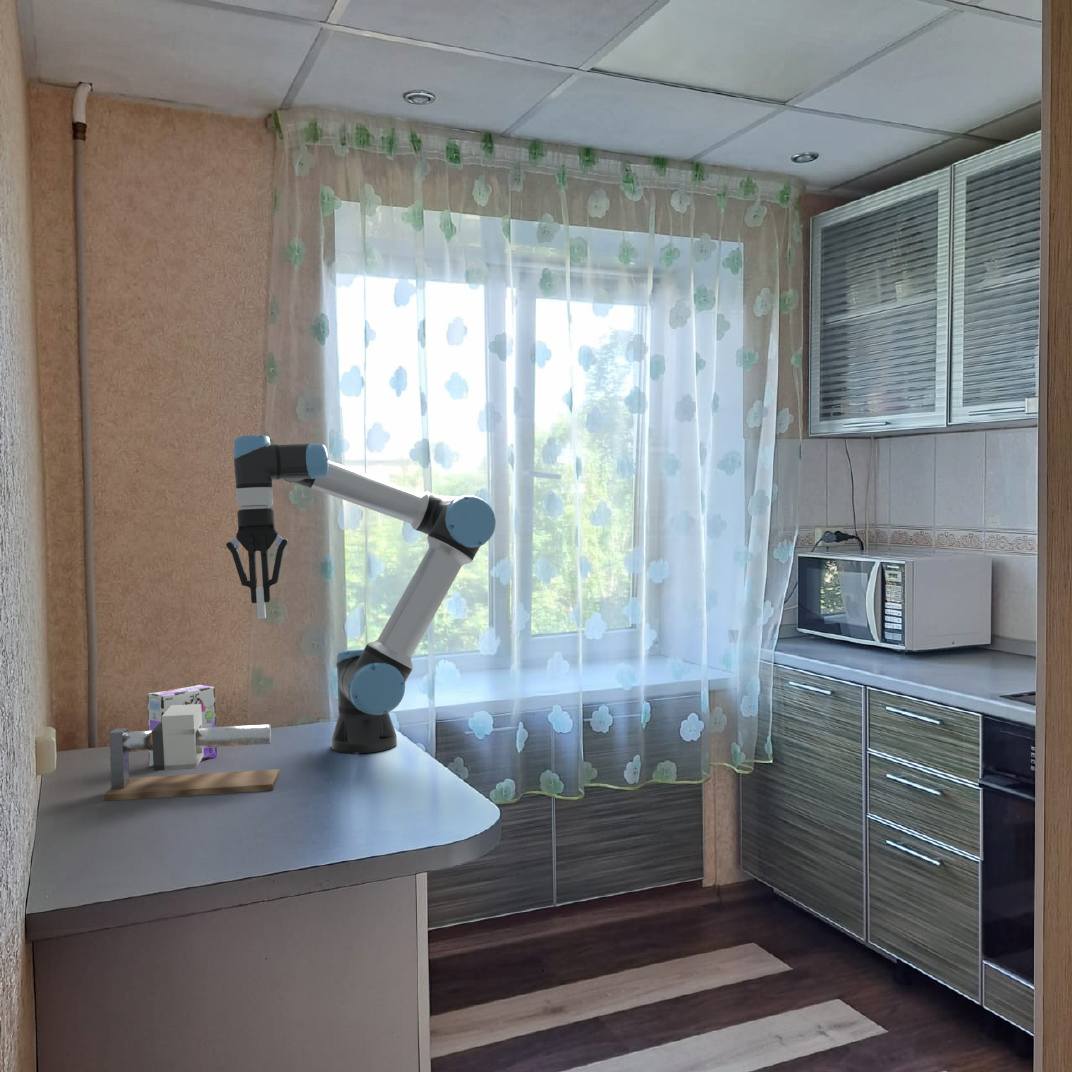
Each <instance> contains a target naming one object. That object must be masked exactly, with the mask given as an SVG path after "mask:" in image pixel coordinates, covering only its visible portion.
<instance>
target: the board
mask: <svg viewBox="0 0 1072 1072" xmlns="http://www.w3.org/2000/svg"><path fill="white" fill-rule="evenodd" d="M279 777H280V768H277V769H258V770H245V771H244V770H243V771H242V770H241V771H228V772H225V771H224V772H212V773H209V772H207V773H193V774H178V775H174V774H173V775H159V776H145V777H129V782H130V783H129V784H128V785H127V786H126V787H125V788H121V789H111V787H110V788H109V789H108V790H107V791H105V793H104V794H103V797H102V798H103V799H102V801H103V802H109V801H123V800H139V799H142V800H143V799H154V798H155V799H159V798H171V797H186V796H187V797H189V796H202V795H206V796H207V795H218V794H220V795H221V794H234V793H250V792H251V793H252V792H266V791H267V792H268V791H273V790H274V789H275V786H276V784H277V782H278V778H279Z"/></svg>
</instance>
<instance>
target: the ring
mask: <svg viewBox="0 0 1072 1072" xmlns="http://www.w3.org/2000/svg"><path fill="white" fill-rule="evenodd" d="M152 743H153V765H154V767H153V771H156V772H157V771H166V770H165V768H164V749H163V730H162V721H161V722H160V723H159V724H158V725H157V726H156V727H155V728H154V729H153V730H152Z"/></svg>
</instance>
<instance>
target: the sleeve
mask: <svg viewBox="0 0 1072 1072" xmlns="http://www.w3.org/2000/svg"><path fill="white" fill-rule="evenodd" d="M198 728H202V711H201V704H190V705H171V706H170V707H169V708H168V709H167V711H166V712H165V713H164V714H163V715H162V730H163V749H164V768H165V770H164V771H178V770H194V769H195V770H196V769H197V768H198V766H199V765H200V762H201V759H202V758H203V756H204V752H203V748H196V736H195V733H196V731H197V730H198Z"/></svg>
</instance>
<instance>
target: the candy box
mask: <svg viewBox="0 0 1072 1072" xmlns="http://www.w3.org/2000/svg"><path fill="white" fill-rule="evenodd" d="M215 691H216V688H215V686H211V685H203V684H196V685H192V686H186V687H181V688H174V689H168V690H162V691H158V692H157V691H156V692H148V693H147V715H148V716H147V719H148V720H147V721H148V722H147V723H148V724H147V725H148V726H147V727H148V728H147V729H148V730H147V731H152V730H153V729H154V728H155V727H156V726H157V725H158V724H159V723H160V722H161V721H162V715H163V714H164V713H165V712H166V711H167V709H168V708H169V707H170V706H171V705H190V704H201V711H202V728H208V727H217V721H216V692H215ZM217 748H218V747H209V748H203V752H204V756H203V758H202V759H201V761H205V760H208V759H214V758H217V757H218V756H217V755H218V753H217V752H218V750H217ZM201 761H200V762H201ZM148 766H149V767H152V768H154V765H153V751H148Z"/></svg>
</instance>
